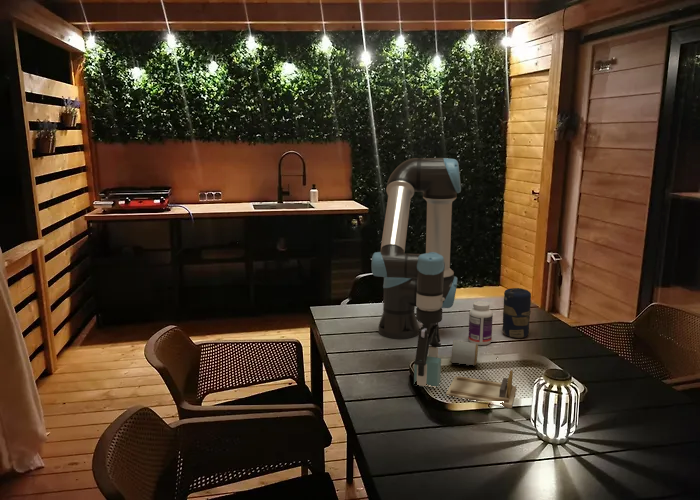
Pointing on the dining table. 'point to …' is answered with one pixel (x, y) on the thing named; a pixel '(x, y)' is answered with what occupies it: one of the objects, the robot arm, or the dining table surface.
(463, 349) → the grey rectangular block
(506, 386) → the wooden tray
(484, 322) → the pill bottle
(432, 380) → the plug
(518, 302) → the canister
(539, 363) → the dining table surface
